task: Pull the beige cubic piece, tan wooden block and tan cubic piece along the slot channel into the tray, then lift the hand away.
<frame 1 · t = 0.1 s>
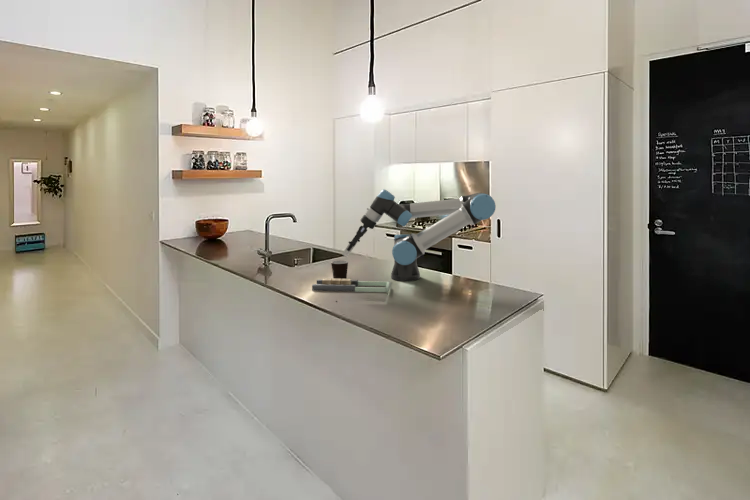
hand: (346, 253, 219), 15 cm above the countertop, tool tilted 35°, fingers open, 13 cm apart
coffee mug: (340, 280, 227), on the countertop
tray: (372, 290, 207), on the countertop
beige cubic piece: (346, 287, 208), point 1 cm above the countertop, touching slot channel
tan wooden block: (336, 287, 208), point 1 cm above the countertop, touching slot channel
tan cubic piece: (327, 287, 209), point 1 cm above the countertop, touching slot channel
slot channel: (335, 290, 208), on the countertop
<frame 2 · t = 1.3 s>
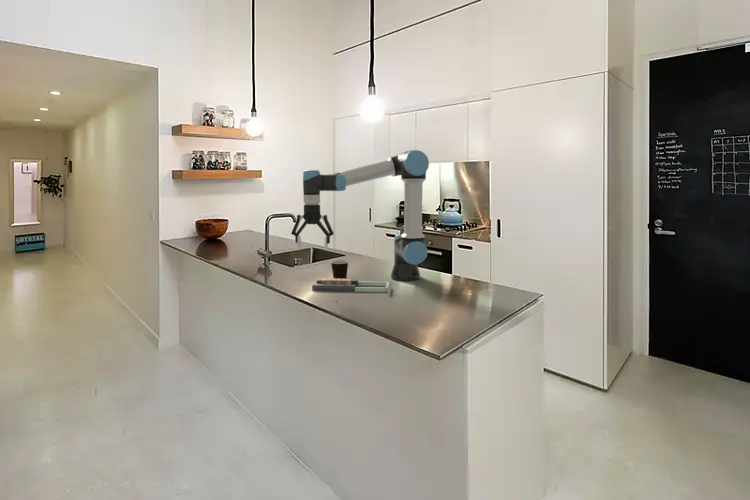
hand: (312, 250, 206), 19 cm above the countertop, tool pointing down, fingers open, 12 cm apart
nothing on the countertop moved.
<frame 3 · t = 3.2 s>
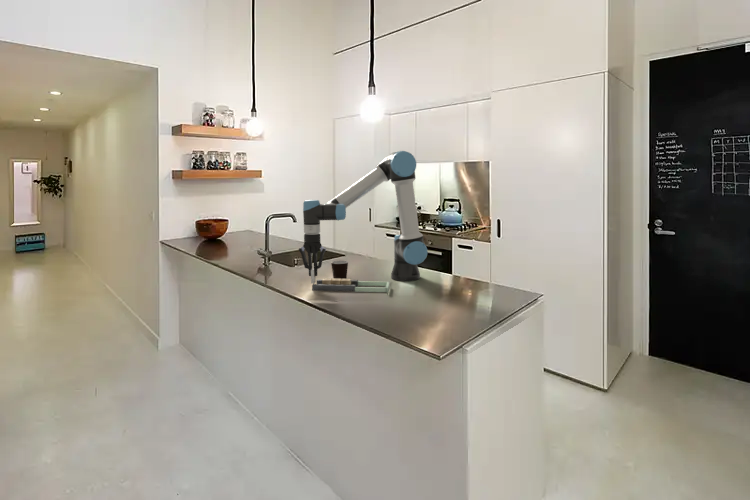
hand: (313, 282, 209), 3 cm above the countertop, tool pointing down, fingers closed
nothing on the countertop moved.
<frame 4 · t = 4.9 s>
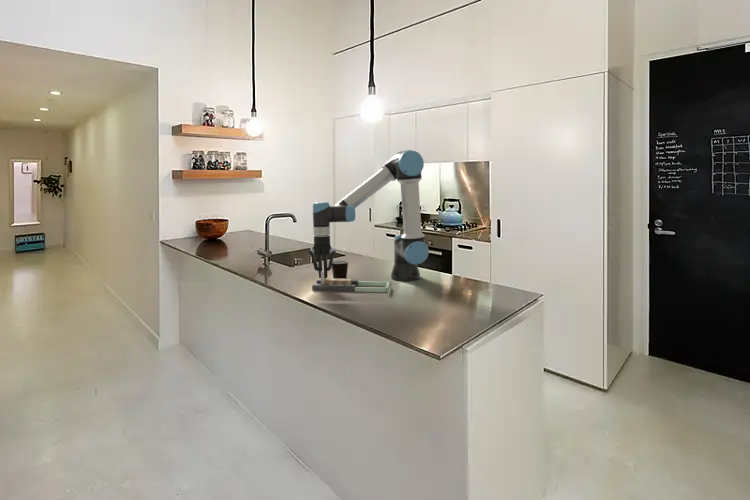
hand: (323, 284, 209), 2 cm above the countertop, tool pointing down, fingers closed
tan wooden block: (337, 287, 208), point 1 cm above the countertop, touching tan cubic piece, slot channel
tan cubic piece: (329, 287, 208), point 1 cm above the countertop, touching tan wooden block, gripper, slot channel
everything else where it was.
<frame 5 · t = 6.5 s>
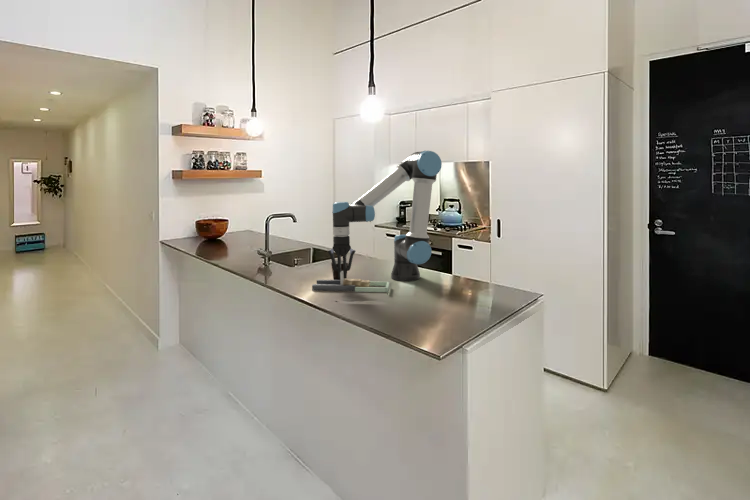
hand: (342, 285, 208), 3 cm above the countertop, tool pointing down, fingers closed
beige cubic piece: (365, 289, 207), point 1 cm above the countertop, touching tan wooden block, tray
tan wooden block: (356, 288, 207), point 1 cm above the countertop, touching beige cubic piece, tan cubic piece
tan cubic piece: (348, 287, 208), point 1 cm above the countertop, touching tan wooden block, gripper
everything else where it was.
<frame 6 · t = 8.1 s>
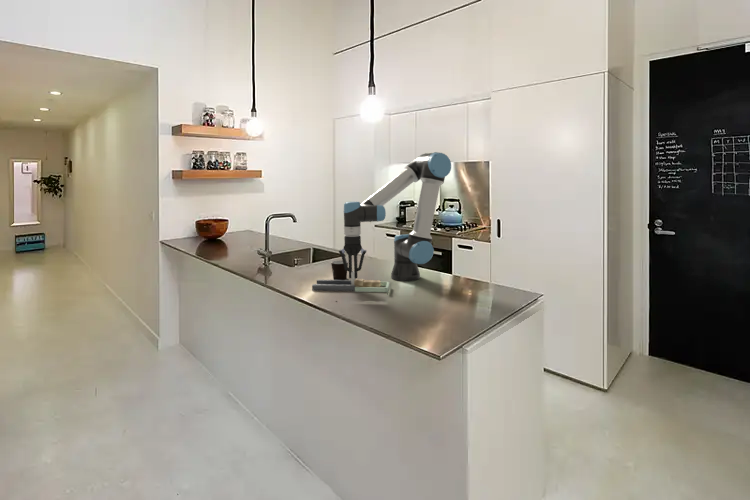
hand: (353, 285, 207), 3 cm above the countertop, tool pointing down, fingers closed
beige cubic piece: (376, 289, 206), point 1 cm above the countertop, touching tan wooden block, tray
tan wooden block: (367, 289, 207), point 1 cm above the countertop, touching beige cubic piece, tan cubic piece
tan cubic piece: (359, 288, 207), point 1 cm above the countertop, touching tan wooden block, gripper
everything else where it was.
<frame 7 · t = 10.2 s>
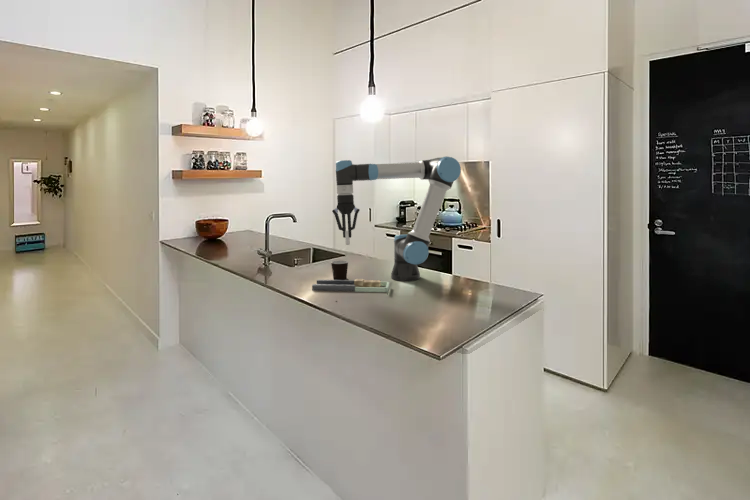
hand: (347, 244, 208), 21 cm above the countertop, tool pointing down, fingers closed
tan cubic piece: (359, 288, 207), point 1 cm above the countertop, touching tan wooden block, slot channel
everything else where it was.
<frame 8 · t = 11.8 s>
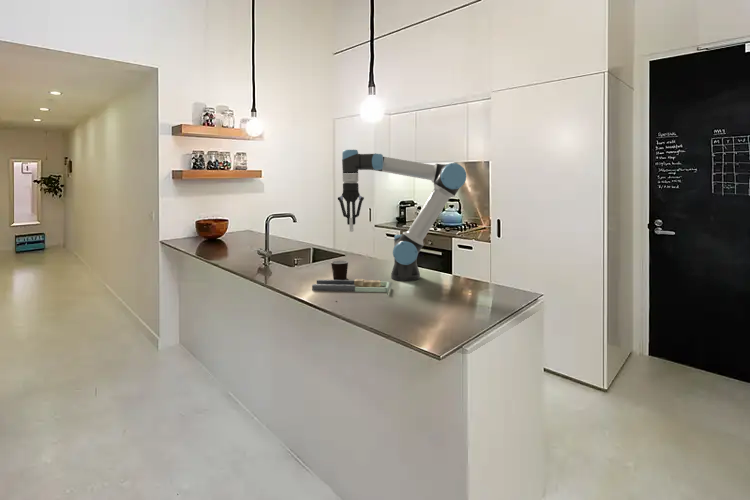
hand: (351, 231, 216), 26 cm above the countertop, tool pointing down, fingers closed
nothing on the countertop moved.
at the end: beige cubic piece inside the target area on the tray (2.2 cm from its centre), point 0.6 cm above the tray's base; tan wooden block inside the target area on the tray (1.8 cm from its centre), point 0.7 cm above the tray's base; tan cubic piece inside the target area on the tray (5.9 cm from its centre), point 1.2 cm above the tray's base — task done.
